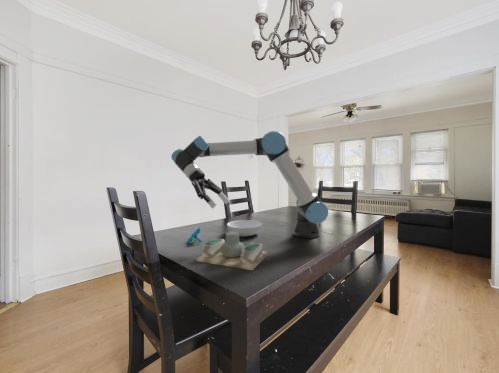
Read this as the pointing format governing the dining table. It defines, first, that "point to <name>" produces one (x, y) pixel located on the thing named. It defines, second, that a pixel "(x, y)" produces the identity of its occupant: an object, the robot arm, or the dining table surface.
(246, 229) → the serving bowl
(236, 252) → the air freshener
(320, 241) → the dining table surface
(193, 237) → the gear
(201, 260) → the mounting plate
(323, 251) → the dining table surface
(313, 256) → the dining table surface
